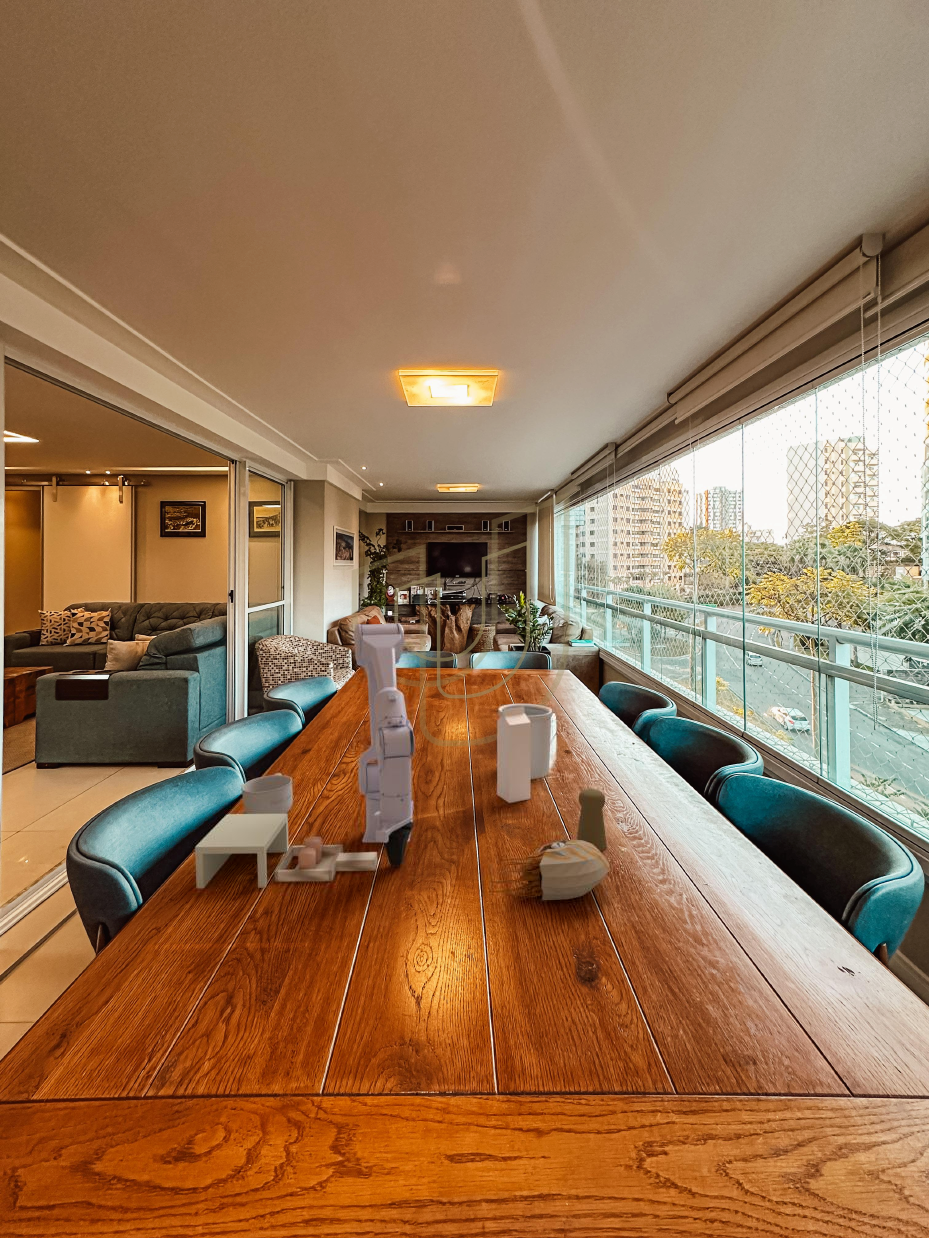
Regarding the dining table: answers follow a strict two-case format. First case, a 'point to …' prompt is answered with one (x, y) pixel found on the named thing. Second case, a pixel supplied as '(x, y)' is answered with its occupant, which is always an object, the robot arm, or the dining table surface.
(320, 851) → the tan rounded capsule
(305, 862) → the tan rounded block
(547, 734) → the utensil holder
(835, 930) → the dining table surface
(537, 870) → the nautilus
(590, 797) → the pepper mill
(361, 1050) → the dining table surface
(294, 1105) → the dining table surface
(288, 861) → the drawer with block handle
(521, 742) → the milk
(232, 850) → the grey bridge stand
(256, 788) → the teacup
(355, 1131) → the dining table surface
